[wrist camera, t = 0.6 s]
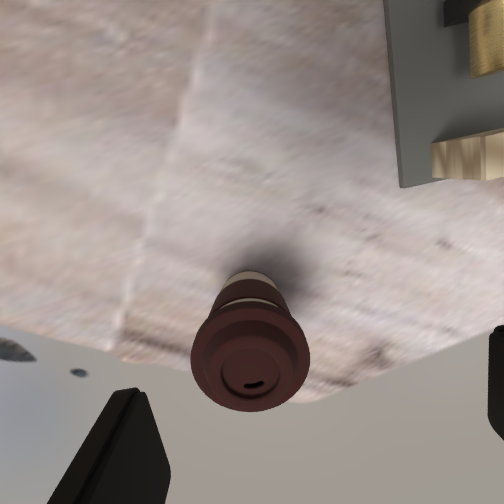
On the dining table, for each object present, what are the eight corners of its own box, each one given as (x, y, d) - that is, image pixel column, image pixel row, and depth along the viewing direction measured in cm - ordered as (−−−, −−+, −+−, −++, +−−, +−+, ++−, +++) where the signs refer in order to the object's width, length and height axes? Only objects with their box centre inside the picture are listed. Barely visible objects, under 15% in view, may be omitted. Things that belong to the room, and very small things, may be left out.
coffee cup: (226, 247, 37) (212, 299, 22) (302, 276, 38) (336, 343, 23) (198, 318, 39) (169, 406, 25) (270, 343, 40) (284, 442, 26)
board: (373, -115, 28) (377, -125, 27) (519, -153, 28) (528, -164, 27) (399, 187, 35) (403, 188, 34) (515, 162, 35) (523, 162, 34)
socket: (430, 143, 33) (485, 136, 25) (493, 129, 33) (569, 117, 25) (432, 177, 34) (486, 180, 26) (494, 164, 34) (566, 163, 26)
